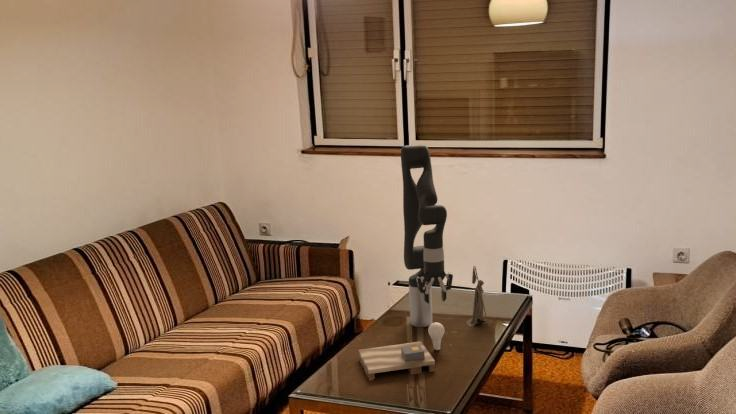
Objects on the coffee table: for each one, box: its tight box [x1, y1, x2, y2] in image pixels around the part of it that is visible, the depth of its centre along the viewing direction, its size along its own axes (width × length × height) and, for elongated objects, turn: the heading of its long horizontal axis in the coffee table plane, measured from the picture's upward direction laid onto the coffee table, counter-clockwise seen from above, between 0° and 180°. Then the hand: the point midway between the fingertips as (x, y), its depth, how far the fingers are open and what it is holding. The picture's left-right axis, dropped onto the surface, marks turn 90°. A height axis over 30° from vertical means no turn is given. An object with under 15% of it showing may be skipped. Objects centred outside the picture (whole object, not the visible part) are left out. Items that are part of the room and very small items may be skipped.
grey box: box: [401, 345, 425, 362], centre depth 256 cm, size 6×7×3 cm
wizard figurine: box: [466, 265, 489, 327], centre depth 293 cm, size 10×8×25 cm
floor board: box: [358, 340, 436, 381], centre depth 260 cm, size 18×24×4 cm
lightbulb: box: [427, 321, 445, 351], centre depth 270 cm, size 6×6×11 cm
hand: (435, 301), depth 267 cm, fingers open, 5 cm apart
